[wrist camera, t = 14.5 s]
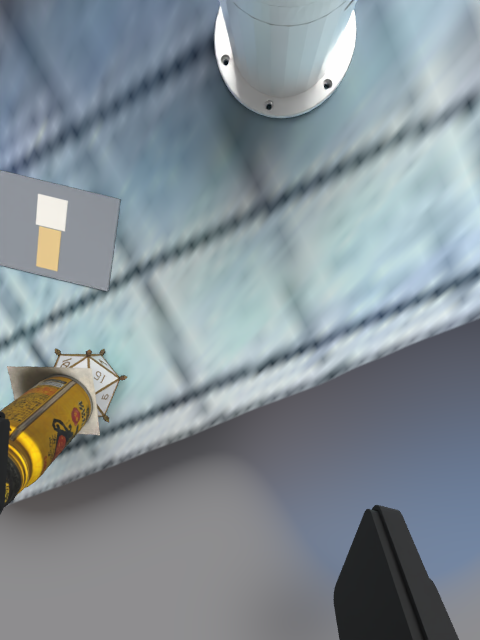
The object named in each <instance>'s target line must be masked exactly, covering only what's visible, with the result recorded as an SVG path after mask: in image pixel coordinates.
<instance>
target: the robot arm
mask: <svg viewBox="0 0 480 640" xmlns="http://www.w3.org/2000/svg"><path fill="white" fill-rule="evenodd" d="M219 2H220V7H219V10H218V14H217V18H216V22H215V31H214V47H215V55H216V60H217V64H218V68H219V70H220V73H221V76H222V78H223V80H224V82H225V84H226V85H227V87H228V89H229V90H230V92H231V93H232V94H233V95H234V97H235V98H236V99H237V100H238V101H239V102H240V103H242V104H243V105H244V106H245V107H246V108H248V109H250V110H252V111H254V112H255V113H257V114H260V115H263V116H267V117H271V118H289V117H296V116H299V115H301V114H304V113H307V112H309V111H311V110H312V109H314V108H316V107H318V106H319V105H320V104H322V103H323V102H324V101H325V100H326V99H327V98H329V97H330V96H331V94H332V93H333V92H334V91H335V89H336V88H337V87H338V86H339V84H340V82H341V81H342V79H343V77H344V76H345V74H346V72H347V69H348V67H349V65H350V63H351V59H352V56H353V52H354V48H355V41H356V32H357V30H356V15H355V11H354V7H355V5H356V2H357V0H219ZM225 61H228V62H229V64H228V65H227V66H225V65H224V62H225ZM325 84H327V85H328V86H329V89H324V85H325ZM267 105H271V106H272V108H271V109H270V110H268V109H267V108H266V107H267ZM9 432H10V421H9V420H8V419H5V414H4V413H3V412H1V411H0V514H1V512H2V510H3V508H4V504H5V492H6V477H7V462H8V447H9ZM334 607H335V614H336V620H337V626H338V633H339V639H340V640H459V639H458V636H457V634H456V632H455V629H454V627H453V625H452V623H451V620H450V618H449V616H448V613H447V611H446V609H445V607H444V604H443V602H442V600H441V598H440V595H439V593H438V591H437V588H436V586H435V585H434V583H433V581H432V580H431V579H430V578H429V577H428V574H427V572H426V570H425V568H424V565H423V563H422V560H421V558H420V556H419V553H418V551H417V549H416V546H415V544H414V542H413V540H412V537H411V535H410V532H409V530H408V528H407V525H406V523H405V521H404V518H403V516H402V514H401V512H400V511H398V510H395V509H391V508H387V507H383V506H379V505H375V506H374V507H373V508H372V510H370V509H367V510H366V511H365V513H364V515H363V518H362V520H361V523H360V525H359V528H358V530H357V533H356V535H355V538H354V540H353V543H352V545H351V548H350V550H349V553H348V555H347V558H346V561H345V563H344V565H343V568H342V570H341V573H340V576H339V578H338V581H337V583H336V586H335V590H334Z"/></svg>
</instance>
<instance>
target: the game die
mask: <svg viewBox="0 0 480 640" xmlns="http://www.w3.org/2000/svg"><path fill="white" fill-rule="evenodd" d="M55 353H56V355H58V358H57V361H56V363H55V365H54V367H67V368H92V375H93V384H94V388H95V396H96V403H97V412H98V417H102V416H103V418H104V420H105V421H107V422H109V418H108V416H106V412H107V410H108V407H109V405H110V402H111V400H112V398H113V395H114V393H115V390H116V388H117V386H118V383H119V381H120V380H125V379H126V378H127V376H121V377H119V376H118V375H117V374H116V372H115V371H114V370H113V369H112V367H111V366H110V365H109V364H108V363H107V361H106V360H105V359H104V358H103V356H102V355H104V353H105V350H104V349H103V350H101V352H100V354H91V353H92V351H91V350H90V349H89V350H88V351H86V354H61V351H59V350H58V349H55Z"/></svg>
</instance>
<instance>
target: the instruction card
mask: <svg viewBox="0 0 480 640" xmlns="http://www.w3.org/2000/svg"><path fill="white" fill-rule="evenodd" d="M120 202H121V199H117V198H113V197H109V196H105V195H101V194H96V193H92V192H88V191H84V190H80V189H76V188H72V187H67V186H63V185H59V184H55V183H51V182H47V181H43V180H38V179H34V178H30V177H26V176H22V175H18V174H14V173H9V172H5V171H1V170H0V265H2V266H6V267H10V268H14V269H18V270H22V271H26V272H30V273H34V274H39V275H43V276H47V277H51V278H55V279H59V280H63V281H67V282H71V283H75V284H79V285H84V286H88V287H92V288H96V289H100V290H104V291H109V284H110V276H111V269H112V261H113V254H114V247H115V239H116V232H117V224H118V217H119V210H120Z"/></svg>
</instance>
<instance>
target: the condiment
mask: <svg viewBox="0 0 480 640" xmlns="http://www.w3.org/2000/svg"><path fill="white" fill-rule="evenodd" d="M7 368H8V373H9V375H10V380H11V385H12V390H13V394H14V400H15V401H13V402H12V403H11V404H9V405H8V406H7V407H5V408H4V409H3V410H1V412H3V413H4V414H5V419H8V420H9V421H10V432H9V447H8V462H7V477H6V492H5V504H4V507H5V506H7V505H8V504H9V503H10V502H11V501H12V500H14V498H15V497H16V495H17V494H18V493H20V492H21V491H22V490H23V489H24V488H25V487H28V486H30V485H31V484H32V483H34V482H35V481H36V480H37V479H38V478H39V477H40V476H41V475H42V474H43V473H44V472H45V470H46V469H47V468H48V466H49V465H50V464H51V463H52V462H53V461H54V460H55V458H56V457H57V456H58V455H59V454H60V453H61V452H62V450H63V449H64V448H65V447H66V446H67V445H68V444H69V443H70V442H71V440H72V439H73V438H74V437H75V436H76V434H93V435H100V431H99V422H98V412H97V403H96V396H95V388H94V384H93V375H92V368H67V367H8V366H7Z"/></svg>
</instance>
